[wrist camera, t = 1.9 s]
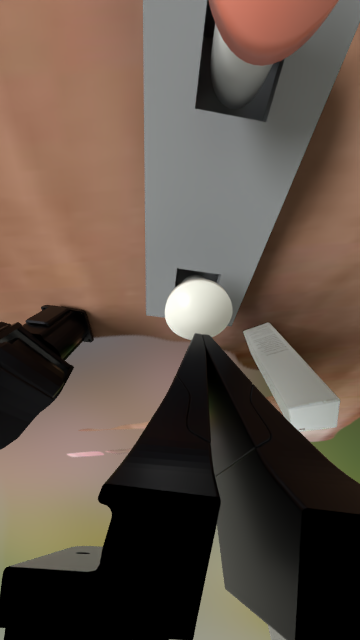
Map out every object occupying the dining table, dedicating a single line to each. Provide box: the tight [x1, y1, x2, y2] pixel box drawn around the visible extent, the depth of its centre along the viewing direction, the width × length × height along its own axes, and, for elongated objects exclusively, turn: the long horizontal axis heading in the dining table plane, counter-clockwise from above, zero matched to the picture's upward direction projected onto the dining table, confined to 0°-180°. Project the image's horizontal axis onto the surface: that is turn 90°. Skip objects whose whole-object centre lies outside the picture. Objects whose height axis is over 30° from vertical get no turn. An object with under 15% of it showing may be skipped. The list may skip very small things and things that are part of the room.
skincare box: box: [243, 323, 340, 432], centre depth 18 cm, size 6×4×12 cm
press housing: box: [143, 0, 360, 326], centre depth 12 cm, size 20×10×5 cm, turn 173°
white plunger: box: [165, 275, 233, 340], centre depth 12 cm, size 5×5×5 cm
